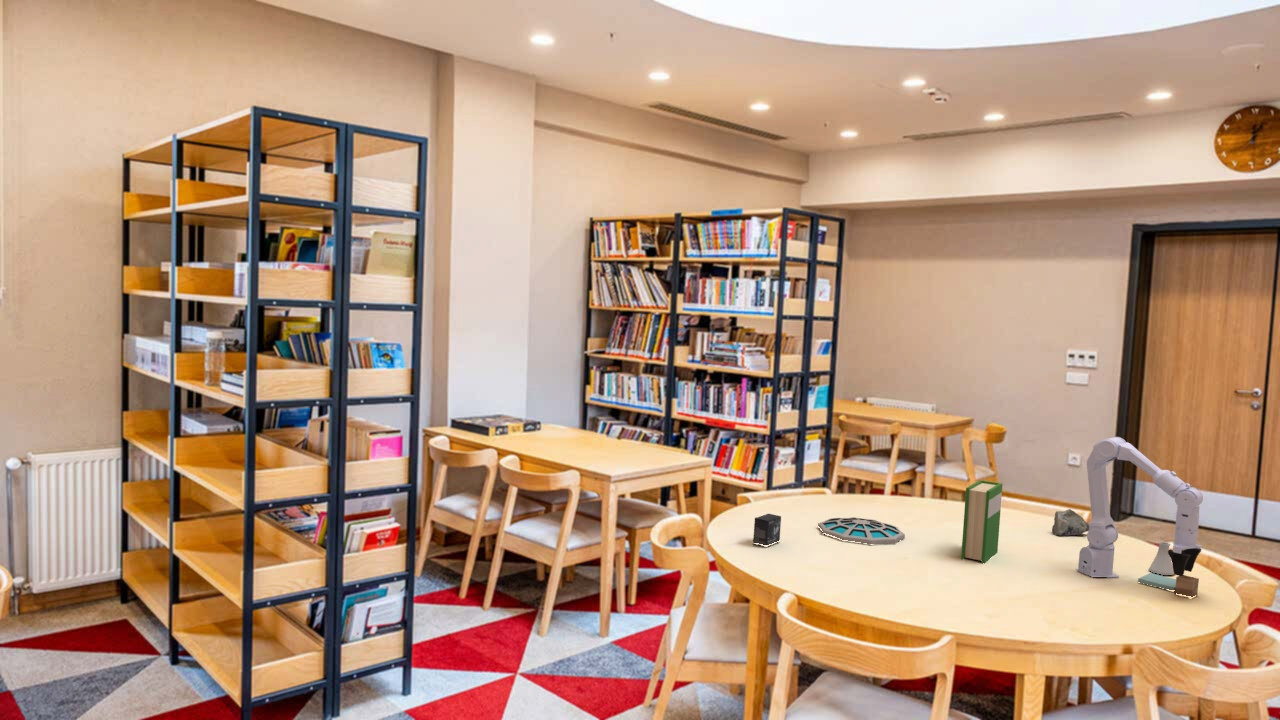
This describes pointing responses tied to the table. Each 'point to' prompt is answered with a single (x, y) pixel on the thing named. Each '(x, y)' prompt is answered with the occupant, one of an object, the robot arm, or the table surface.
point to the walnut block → (1186, 585)
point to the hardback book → (981, 520)
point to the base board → (1158, 581)
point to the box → (767, 529)
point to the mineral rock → (1069, 523)
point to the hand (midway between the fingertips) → (1182, 573)
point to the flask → (1162, 561)
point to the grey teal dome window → (862, 530)
